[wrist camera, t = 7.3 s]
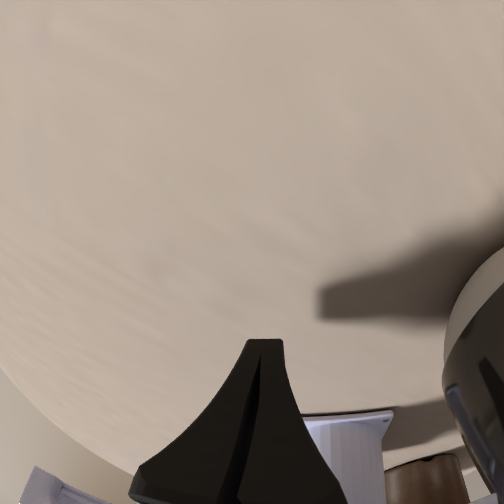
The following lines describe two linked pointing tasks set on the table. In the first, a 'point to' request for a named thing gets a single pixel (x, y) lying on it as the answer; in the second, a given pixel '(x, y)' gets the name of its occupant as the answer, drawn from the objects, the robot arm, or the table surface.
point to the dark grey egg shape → (479, 370)
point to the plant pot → (427, 482)
